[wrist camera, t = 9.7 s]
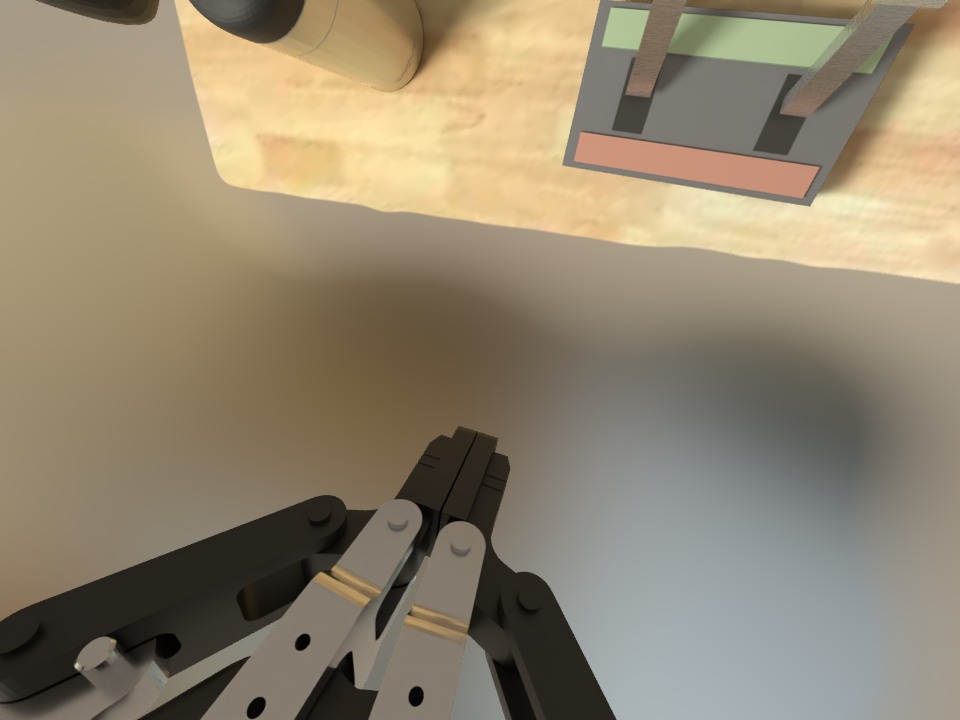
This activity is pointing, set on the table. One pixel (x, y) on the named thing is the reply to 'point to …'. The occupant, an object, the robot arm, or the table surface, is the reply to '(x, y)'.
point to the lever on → (654, 45)
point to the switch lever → (850, 52)
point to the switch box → (719, 102)
